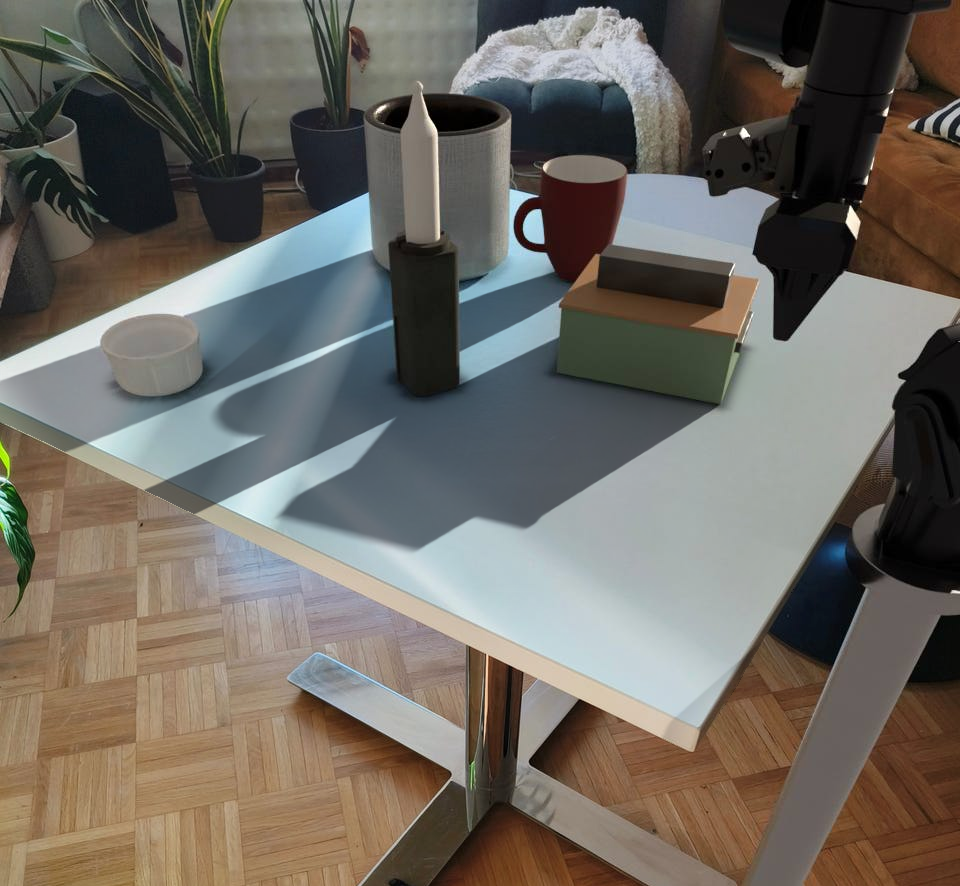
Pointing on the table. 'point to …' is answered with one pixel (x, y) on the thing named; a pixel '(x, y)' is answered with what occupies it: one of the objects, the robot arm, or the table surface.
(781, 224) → the robot arm
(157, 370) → the ramekin
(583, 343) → the bread box
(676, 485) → the table surface
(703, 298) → the stick
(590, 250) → the mug
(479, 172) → the planter
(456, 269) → the candle
